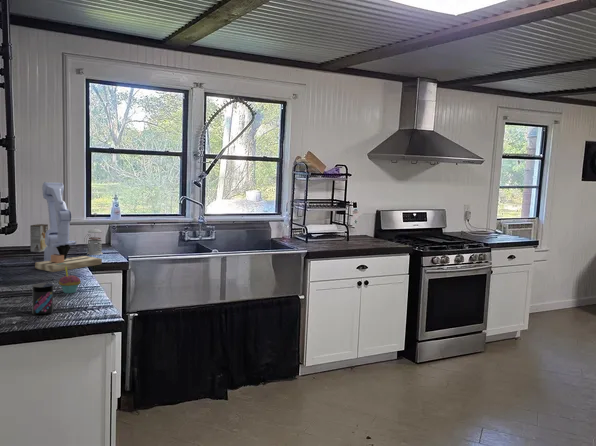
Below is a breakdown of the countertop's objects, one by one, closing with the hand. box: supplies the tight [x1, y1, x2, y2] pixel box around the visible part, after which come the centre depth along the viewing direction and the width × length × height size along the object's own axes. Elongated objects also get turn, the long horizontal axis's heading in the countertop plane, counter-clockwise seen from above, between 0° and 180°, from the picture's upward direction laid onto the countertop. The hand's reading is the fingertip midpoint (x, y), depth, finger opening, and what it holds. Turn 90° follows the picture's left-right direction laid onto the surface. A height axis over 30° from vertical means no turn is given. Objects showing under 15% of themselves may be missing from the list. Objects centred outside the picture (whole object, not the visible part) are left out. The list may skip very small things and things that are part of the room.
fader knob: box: [51, 254, 64, 263], centre depth 267 cm, size 5×4×4 cm
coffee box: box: [29, 223, 49, 253], centre depth 316 cm, size 9×6×16 cm
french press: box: [83, 212, 104, 256], centre depth 315 cm, size 10×12×25 cm
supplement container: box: [31, 282, 54, 317], centre depth 186 cm, size 7×7×10 cm
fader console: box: [34, 255, 103, 273], centre depth 274 cm, size 14×30×3 cm, turn 152°
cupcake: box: [58, 265, 82, 294], centre depth 219 cm, size 9×8×12 cm
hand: (63, 259), depth 271 cm, fingers closed
